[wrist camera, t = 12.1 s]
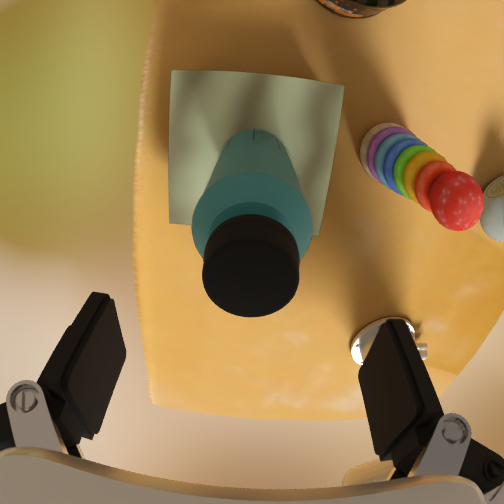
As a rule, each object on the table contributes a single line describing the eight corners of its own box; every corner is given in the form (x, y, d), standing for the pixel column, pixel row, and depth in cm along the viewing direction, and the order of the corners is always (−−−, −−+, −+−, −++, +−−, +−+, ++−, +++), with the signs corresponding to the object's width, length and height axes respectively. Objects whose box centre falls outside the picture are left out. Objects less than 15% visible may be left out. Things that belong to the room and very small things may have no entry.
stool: (327, 84, 32) (344, 85, 25) (308, 207, 40) (318, 236, 34) (189, 71, 32) (171, 70, 25) (184, 196, 40) (169, 223, 33)
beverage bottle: (207, 150, 29) (131, 267, 12) (265, 110, 27) (274, 170, 10) (246, 201, 32) (230, 361, 15) (303, 166, 30) (359, 302, 12)
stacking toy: (369, 189, 39) (434, 270, 23) (348, 134, 35) (417, 184, 19) (419, 168, 37) (504, 235, 21) (402, 113, 33) (497, 150, 17)
